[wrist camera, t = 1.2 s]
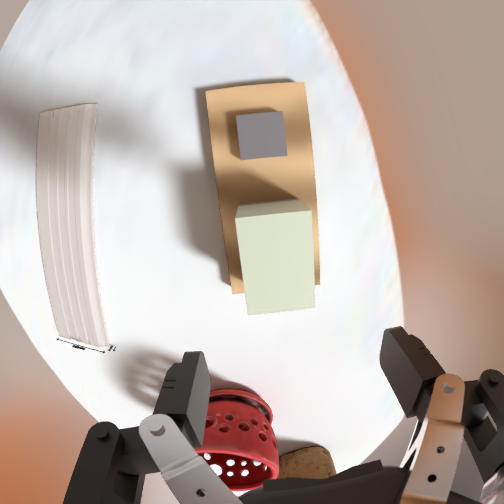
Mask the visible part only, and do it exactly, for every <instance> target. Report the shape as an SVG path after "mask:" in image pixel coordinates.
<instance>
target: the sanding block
mask: <svg viewBox="0 0 504 504" xmlns="http://www.w3.org/2000/svg"><path fill="white" fill-rule="evenodd" d="M235 223H236V230H237V238H238V245H239V253H240V260H241V268H242V275H243V283H244V290H245V297H246V304H247V311H248V315H255V314H265V313H274V312H283V311H292V310H300V309H308V308H315V277H314V248H313V227H312V210H311V209H309V208H308V207H307V206H306V205H305V204H304V203H303V202H302V201H301V200H299V199H298V198H295V199H285V200H274V201H265V202H255V203H246V204H238V208H237V212H236V216H235Z"/></svg>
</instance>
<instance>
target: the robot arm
mask: <svg viewBox="0 0 504 504" xmlns="http://www.w3.org/2000/svg"><path fill="white" fill-rule="evenodd" d="M380 365H381V368H382V370H383V372H384V374H385V376H386V377H387V379H388V381H389V383H390V385H391V387H392V389H393V391H394V393H395V395H396V397H397V399H398V401H399V403H400V405H401V407H402V409H403V411H404V413H405V414H406V417H407V418H411V417H414V416H417V418H418V421H417V423H416V426H415V429H414V432H413V435H412V438H411V441H410V444H409V447H408V449H407V452H406V454H405V457H404V459H403V461H402V463H401V465H400V467H396V466H382V463H381V461H380V460H377V461H373V462H370V463H366V464H362V465H358V466H354V467H351V468H349V469H347V470H345V471H343V472H340V473H338V474H336V475H333V476H331V477H329V478H326V479H311V478H296V477H291V478H281V479H269V480H263V487H259V488H256V489H253V490H251V491H249V492H246V493H244V494H243V495H241V496H240V497H238V498H237V497H236V496H235V494H234V493H233V492H232V491H231V490H230V489H229V488H228V487H227V486H226V485H225V484H224V482H223V481H222V480H221V479H220V478H219V477H218V476H217V474H216V473H215V472H214V471H213V470H212V469H211V467H210V466H209V465H208V464H207V463H206V461H205V460H204V459H203V458H202V457H201V456H200V455H198V454H197V453H196V451H195V450H194V447H202V444H203V437H204V430H205V423H206V417H207V410H208V403H209V397H210V390H211V380H210V375H209V372H208V368H207V364H206V361H205V357H204V354H203V352H202V351H195V352H185V353H184V356H183V359H182V362H181V363H174V364H173V365H172V366H171V368H170V369H169V370H168V371H167V373H166V376H165V379H164V380H165V381H164V382H163V385H162V388H161V391H160V394H159V397H158V400H157V403H156V406H155V409H154V412H153V415H151V416H148V417H147V418H145V419H144V420H143V421H142V422H141V424H140V426H137V427H132V428H125V429H118V428H117V426H116V425H115V424H113V423H111V422H99V423H97V424H95V425H93V426H92V427H91V428H90V430H89V431H88V434H87V437H86V439H85V441H84V444H83V447H82V449H81V452H80V454H79V457H78V460H77V463H76V465H75V468H74V471H73V474H72V477H71V480H70V483H69V486H68V489H67V492H66V495H65V498H64V501H63V504H140V502H141V496H142V490H143V485H144V479H145V474H149V473H156V472H161V475H162V477H163V479H164V480H165V482H166V483H167V485H168V487H169V488H170V490H171V491H172V493H173V494H174V496H175V497H176V499H177V500H178V501H179V503H180V504H504V375H503V374H502V373H501V372H499V371H497V370H493V369H489V370H486V371H484V372H483V373H482V374H481V376H480V378H479V380H474V381H465V382H463V380H462V379H461V378H460V377H459V376H457V375H454V374H446V373H445V371H444V370H443V369H442V367H441V366H440V364H439V363H438V362H437V360H436V359H435V358H434V356H433V355H432V354H430V351H429V350H428V349H427V348H426V346H425V345H424V343H423V342H422V341H421V340H420V339H418V338H417V337H415V336H414V335H412V334H411V335H408V334H407V332H406V331H405V330H404V329H403V327H401V326H398V327H394V328H389V329H386V330H385V331H384V334H383V340H382V346H381V351H380ZM489 413H490V415H491V417H492V418H493V420H494V422H495V423H496V425H497V432H496V430H495V428H494V426H493V425H492V423H491V421H490V419H489V418H488V414H489ZM463 437H464V439H465V441H466V443H467V445H468V447H469V449H470V451H471V453H472V456H473V458H474V460H475V462H476V465H477V467H478V469H479V472H480V474H481V476H482V479H483V481H484V486H483V489H482V496H481V497H480V501H481V503H480V502H477V501H474V500H472V499H470V498H467V497H465V496H462V495H460V494H458V493H455V492H453V491H451V490H450V489H451V485H452V482H453V478H454V475H455V471H456V467H457V463H458V459H459V454H460V450H461V444H462V440H463Z"/></svg>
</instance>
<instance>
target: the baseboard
mask: <svg viewBox="0 0 504 504" xmlns="http://www.w3.org/2000/svg"><path fill="white" fill-rule="evenodd" d="M97 111H98V103H95V104H81V105H76V106H70V107H65V108H59V109H55V110H49V111H45V112H41V113H40V117H39V126H38V138H37V157H36V196H37V214H38V227H39V237H40V245H41V253H42V260H43V266H44V272H45V277H46V283H47V288H48V292H49V297H50V302H51V306H52V310H53V314H54V318H55V322H56V325H57V329H58V332H59V336H60V337H64V338H67V339H72V340H75V341H78V342H83V343H86V344H90V345H94V346H96V347H102V346H108V347H109V346H110V344H109V339H108V334H107V329H106V324H105V319H104V313H103V307H102V301H101V294H100V287H99V279H98V271H97V262H96V251H95V238H94V219H93V161H94V143H95V130H96V120H97ZM57 340H59V338H58V339H57ZM61 341H63V340H61ZM64 342H66V341H64ZM68 343H69V342H68ZM71 344H73V343H71ZM75 345H76V344H74V345H73V346H72V347H75V348H77V347H78V348H79V349H83V350H85V348H87V347H85V348H83V346H81V347H79V345H78V346H75ZM78 348H77V349H78ZM115 348H116V347H115ZM89 349H90V348H89ZM110 349H112V346H111V347H110ZM110 349H109V350H108V351H110ZM92 350H94V349H92ZM96 351H98V350H96ZM113 351H115V350H113ZM100 352H102V351H100ZM103 353H105V352H104V351H103Z"/></svg>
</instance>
